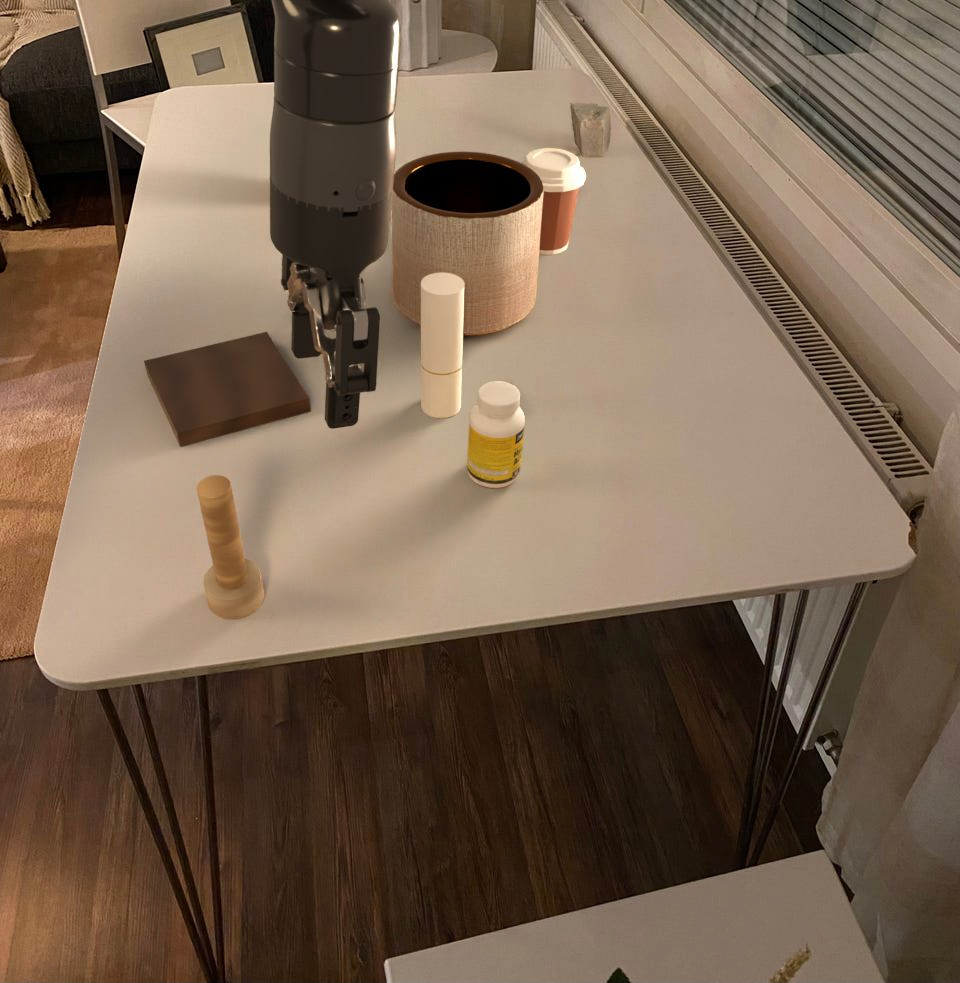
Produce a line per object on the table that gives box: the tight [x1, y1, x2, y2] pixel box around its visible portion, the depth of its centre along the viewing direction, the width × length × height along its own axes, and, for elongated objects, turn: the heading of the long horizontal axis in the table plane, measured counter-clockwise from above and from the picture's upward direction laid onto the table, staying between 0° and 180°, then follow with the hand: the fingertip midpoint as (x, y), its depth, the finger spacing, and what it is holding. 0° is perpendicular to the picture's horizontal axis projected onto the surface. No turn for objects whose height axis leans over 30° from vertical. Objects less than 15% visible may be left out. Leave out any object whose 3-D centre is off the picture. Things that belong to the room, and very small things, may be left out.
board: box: [143, 331, 312, 447], centre depth 104 cm, size 14×14×2 cm
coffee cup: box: [521, 147, 587, 256], centre depth 129 cm, size 9×9×12 cm
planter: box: [391, 151, 544, 336], centre depth 115 cm, size 18×18×16 cm
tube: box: [420, 272, 465, 419], centre depth 100 cm, size 4×4×15 cm
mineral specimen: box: [569, 102, 612, 158], centre depth 153 cm, size 7×9×8 cm
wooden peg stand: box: [196, 474, 265, 620], centre depth 79 cm, size 5×5×13 cm
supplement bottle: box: [466, 380, 526, 489], centre depth 94 cm, size 5×5×10 cm
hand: (323, 388), depth 70 cm, fingers open, 8 cm apart
